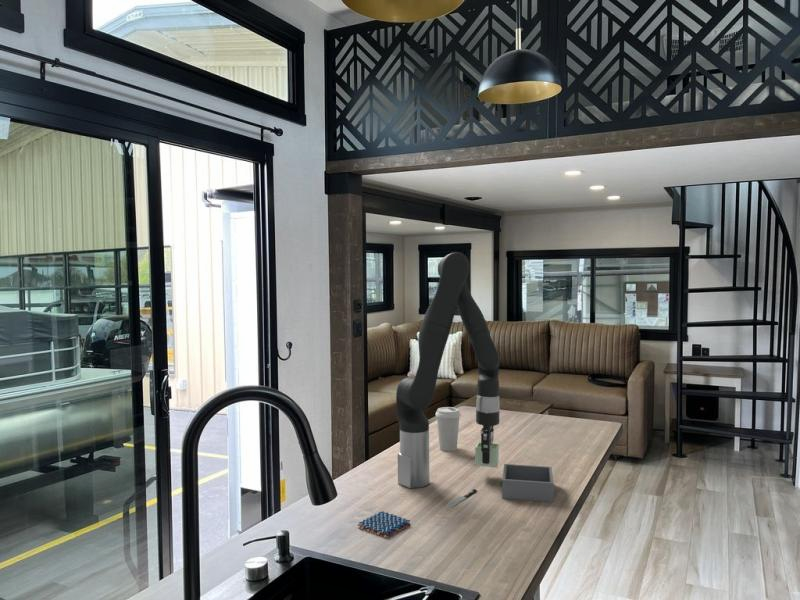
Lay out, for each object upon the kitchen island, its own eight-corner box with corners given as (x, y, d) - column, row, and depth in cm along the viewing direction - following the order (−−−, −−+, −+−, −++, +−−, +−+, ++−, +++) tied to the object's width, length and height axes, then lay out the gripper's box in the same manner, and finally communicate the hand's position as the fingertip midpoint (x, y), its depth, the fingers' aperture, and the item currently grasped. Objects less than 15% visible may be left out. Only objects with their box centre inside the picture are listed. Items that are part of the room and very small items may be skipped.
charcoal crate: (553, 502, 167) (553, 483, 167) (502, 498, 170) (502, 479, 170) (551, 484, 181) (551, 466, 181) (504, 480, 185) (504, 463, 184)
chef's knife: (435, 512, 163) (444, 514, 161) (434, 508, 163) (443, 509, 161) (469, 490, 178) (477, 492, 176) (468, 487, 178) (477, 488, 176)
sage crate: (497, 467, 184) (497, 448, 184) (475, 465, 186) (475, 447, 186) (498, 461, 190) (499, 443, 190) (477, 460, 192) (477, 442, 192)
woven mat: (381, 516, 160) (381, 509, 160) (412, 526, 153) (412, 519, 153) (355, 529, 152) (355, 522, 152) (386, 541, 145) (386, 533, 145)
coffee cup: (462, 452, 214) (461, 412, 213) (436, 452, 214) (435, 412, 213) (459, 444, 223) (459, 406, 223) (435, 445, 224) (434, 406, 223)
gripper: (478, 403, 196) (478, 453, 196) (473, 413, 182) (472, 466, 182) (501, 405, 194) (500, 454, 194) (497, 414, 180) (496, 468, 180)
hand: (486, 460), depth 188 cm, fingers closed on sage crate, 6 cm apart
